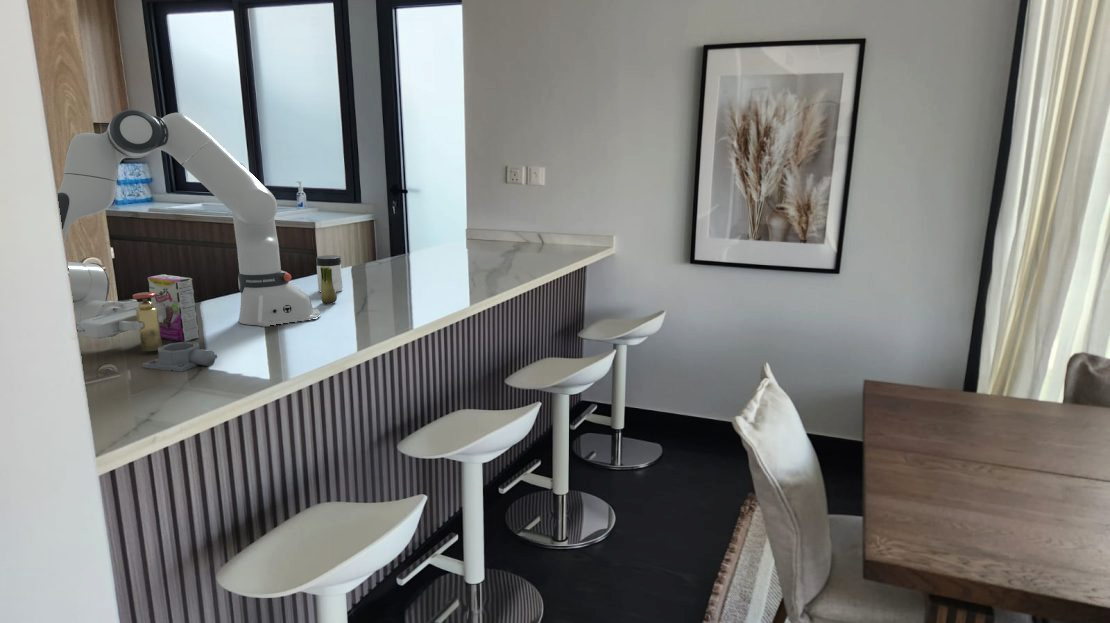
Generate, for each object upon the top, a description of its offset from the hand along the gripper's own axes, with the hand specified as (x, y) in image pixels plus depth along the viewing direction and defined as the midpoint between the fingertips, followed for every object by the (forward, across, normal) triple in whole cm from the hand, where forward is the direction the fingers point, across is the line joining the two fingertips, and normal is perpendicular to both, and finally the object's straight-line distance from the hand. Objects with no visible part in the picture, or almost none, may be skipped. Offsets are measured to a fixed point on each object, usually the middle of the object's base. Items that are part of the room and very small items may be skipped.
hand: (151, 322), depth 166 cm
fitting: (+13, -4, +8) cm, 16 cm away
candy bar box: (-6, +13, +8) cm, 16 cm away
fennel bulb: (+9, +60, +9) cm, 62 cm away
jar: (-1, +78, +9) cm, 78 cm away
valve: (-1, 0, +7) cm, 7 cm away
